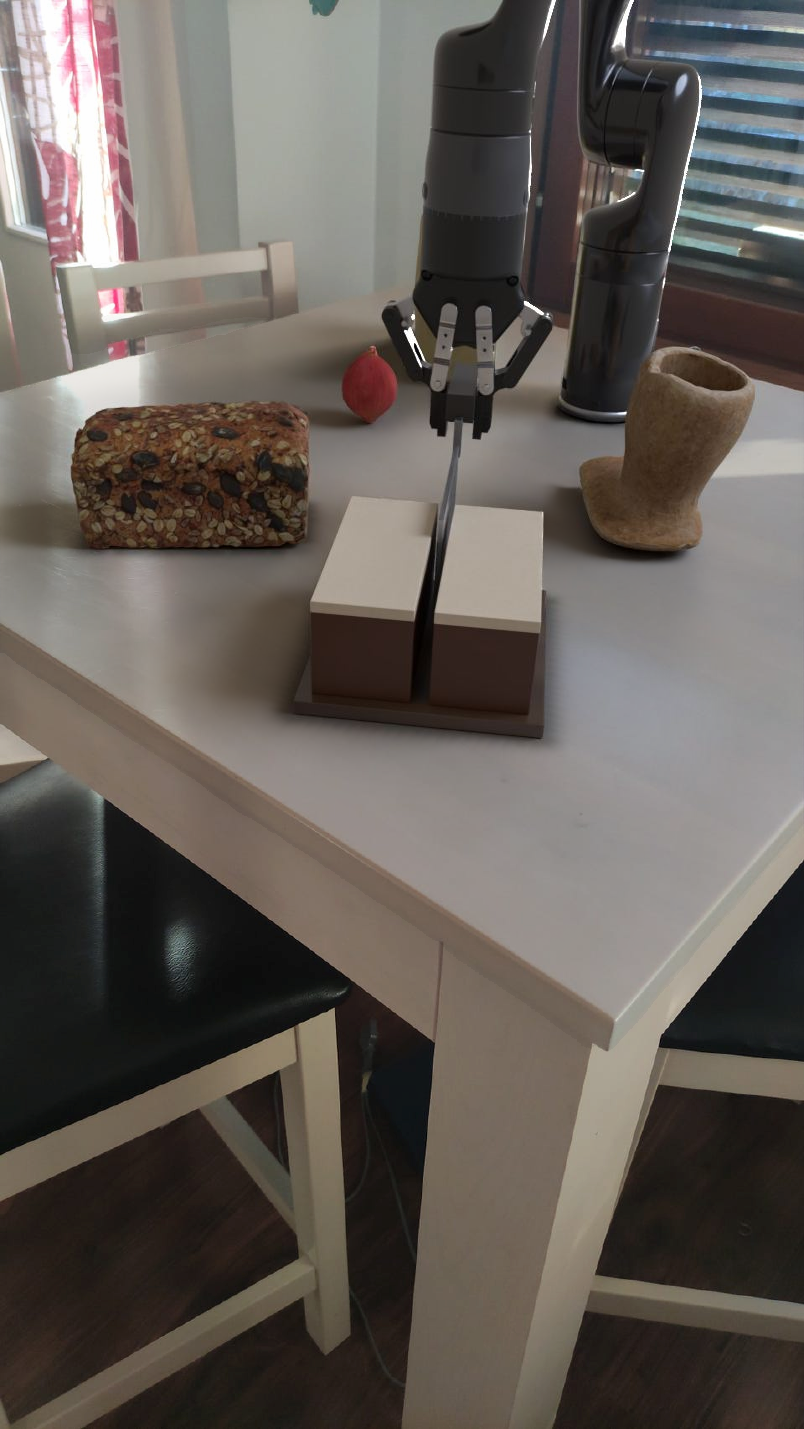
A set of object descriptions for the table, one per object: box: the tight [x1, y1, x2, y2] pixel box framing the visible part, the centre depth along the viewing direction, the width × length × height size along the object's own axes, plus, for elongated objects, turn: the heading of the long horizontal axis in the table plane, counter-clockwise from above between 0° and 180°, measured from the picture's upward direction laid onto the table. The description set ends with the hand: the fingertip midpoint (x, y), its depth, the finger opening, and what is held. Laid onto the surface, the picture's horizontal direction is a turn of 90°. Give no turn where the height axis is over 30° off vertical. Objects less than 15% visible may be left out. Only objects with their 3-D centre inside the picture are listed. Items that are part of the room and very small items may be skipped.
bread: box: [70, 400, 311, 550], centre depth 87 cm, size 19×11×10 cm, turn 94°
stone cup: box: [578, 346, 756, 552], centre depth 89 cm, size 15×12×15 cm
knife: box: [432, 363, 478, 618], centre depth 82 cm, size 23×2×11 cm, turn 173°
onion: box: [341, 345, 399, 424], centre depth 109 cm, size 6×6×8 cm
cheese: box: [414, 213, 498, 383], centre depth 128 cm, size 22×10×15 cm, turn 8°
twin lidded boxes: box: [292, 495, 547, 739], centre depth 72 cm, size 18×16×8 cm
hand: (459, 434), depth 86 cm, fingers closed on knife, 2 cm apart
